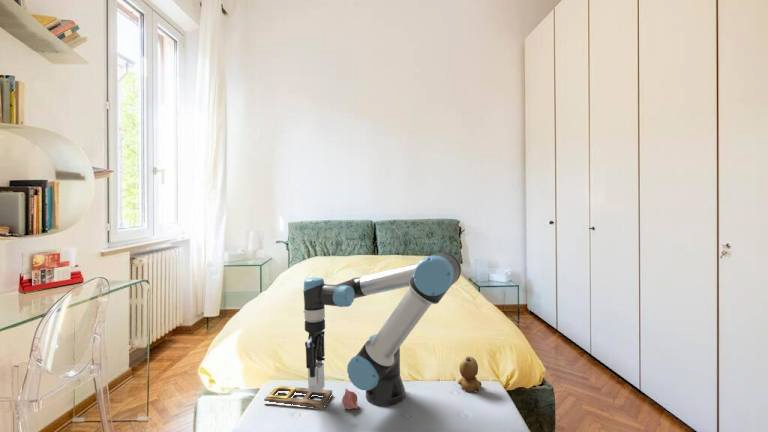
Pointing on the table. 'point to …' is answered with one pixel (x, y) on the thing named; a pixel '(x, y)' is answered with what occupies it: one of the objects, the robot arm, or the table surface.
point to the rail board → (297, 401)
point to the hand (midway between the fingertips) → (316, 381)
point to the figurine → (469, 375)
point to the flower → (349, 400)
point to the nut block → (319, 379)
